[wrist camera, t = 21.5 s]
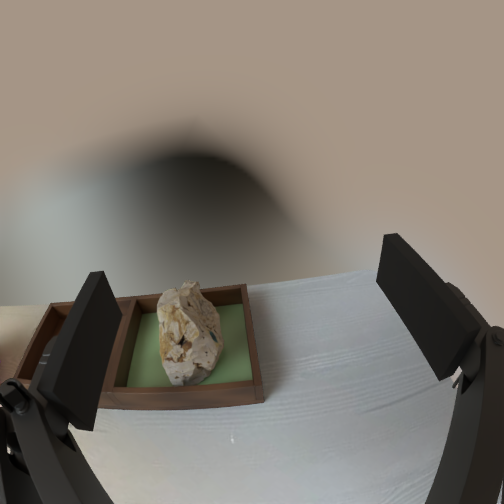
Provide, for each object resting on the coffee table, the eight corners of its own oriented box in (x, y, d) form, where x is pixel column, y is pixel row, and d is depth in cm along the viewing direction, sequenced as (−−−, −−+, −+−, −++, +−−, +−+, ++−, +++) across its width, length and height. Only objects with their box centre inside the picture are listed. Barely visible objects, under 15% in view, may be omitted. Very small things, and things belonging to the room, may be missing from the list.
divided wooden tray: (248, 304, 42) (246, 283, 40) (264, 402, 28) (262, 384, 26) (60, 319, 41) (50, 302, 39) (26, 398, 26) (11, 381, 25)
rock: (228, 392, 27) (199, 306, 25) (170, 397, 28) (135, 317, 26) (236, 335, 39) (217, 267, 37) (191, 343, 40) (169, 277, 37)
